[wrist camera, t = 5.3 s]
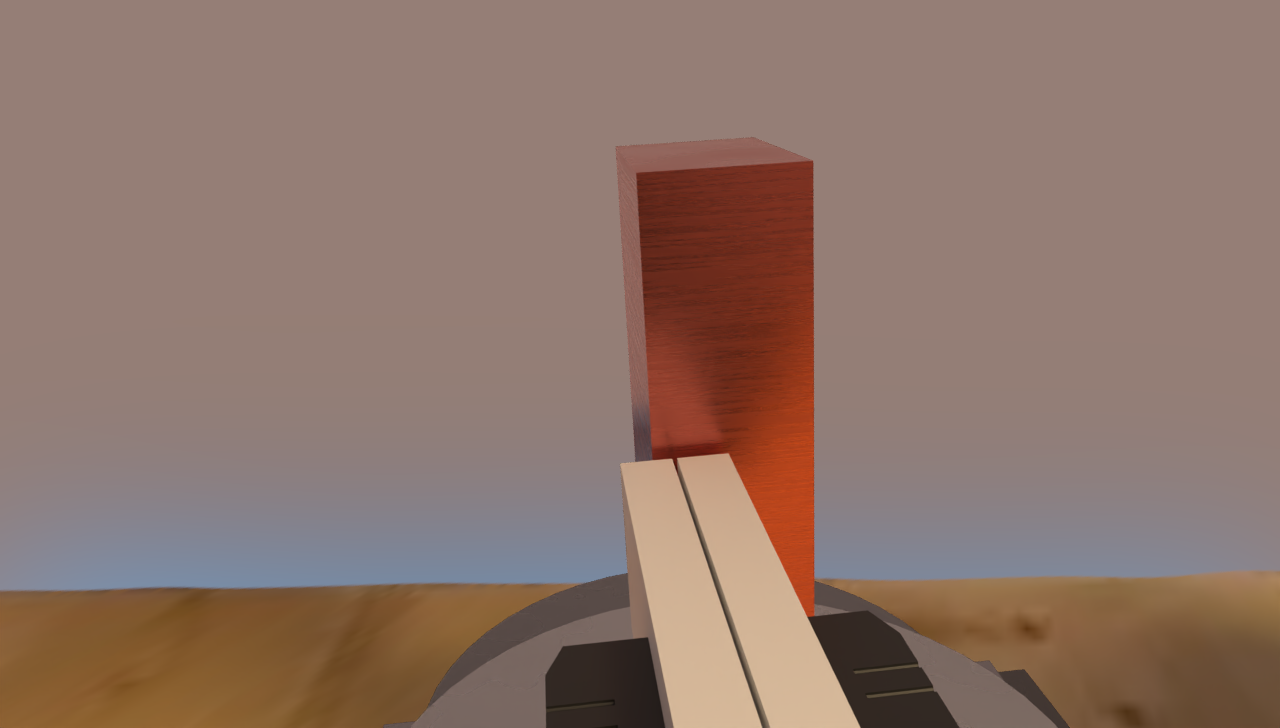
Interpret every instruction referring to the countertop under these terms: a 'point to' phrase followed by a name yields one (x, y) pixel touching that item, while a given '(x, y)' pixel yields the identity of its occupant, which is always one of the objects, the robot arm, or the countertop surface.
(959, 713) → the lid
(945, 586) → the countertop surface
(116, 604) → the countertop surface
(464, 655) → the cooker
